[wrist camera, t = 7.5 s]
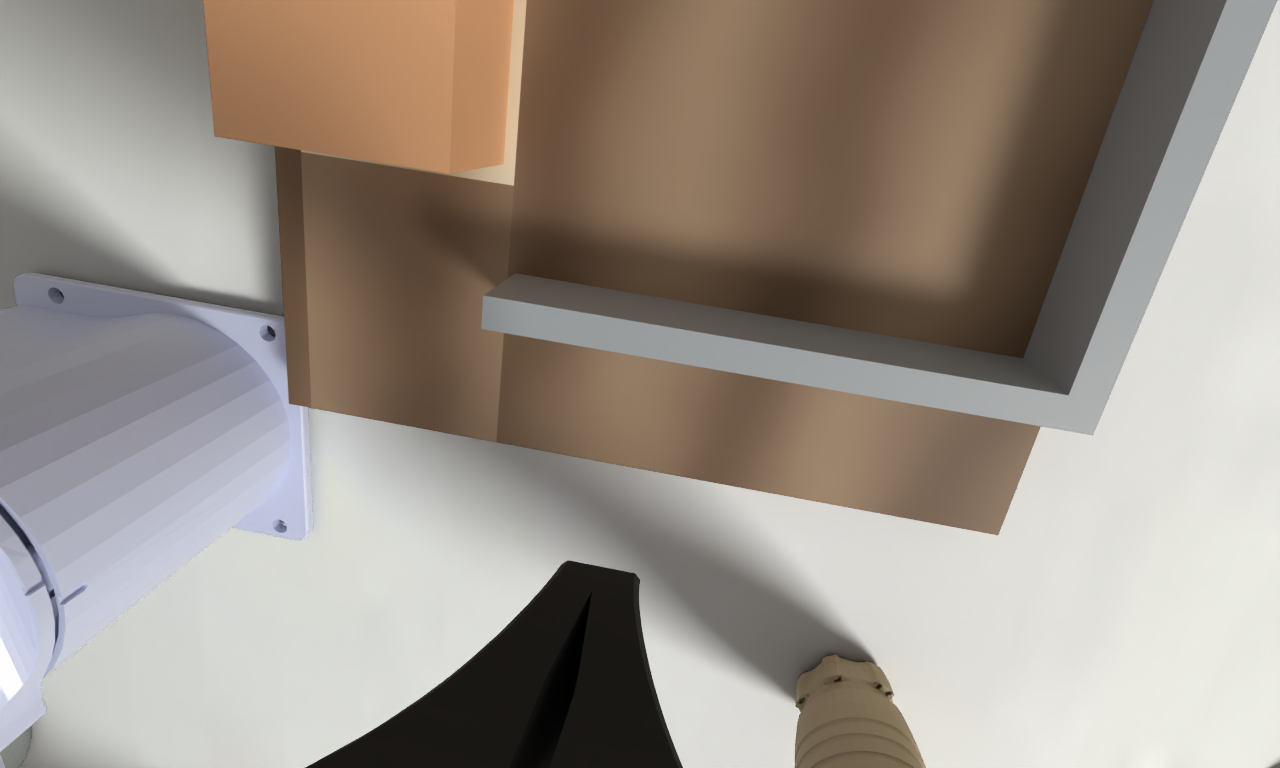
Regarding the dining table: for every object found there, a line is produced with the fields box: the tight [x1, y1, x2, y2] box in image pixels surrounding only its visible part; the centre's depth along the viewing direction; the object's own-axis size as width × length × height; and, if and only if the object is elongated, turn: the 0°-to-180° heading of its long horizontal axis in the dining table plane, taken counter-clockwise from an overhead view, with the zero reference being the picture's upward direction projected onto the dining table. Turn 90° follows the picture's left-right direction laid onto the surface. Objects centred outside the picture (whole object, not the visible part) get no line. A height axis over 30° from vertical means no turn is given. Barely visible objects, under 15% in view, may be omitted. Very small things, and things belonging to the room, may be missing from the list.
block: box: [203, 0, 514, 174], centre depth 15 cm, size 5×5×4 cm
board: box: [275, 0, 1154, 535], centre depth 17 cm, size 20×20×2 cm
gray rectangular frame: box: [481, 0, 1277, 435], centre depth 15 cm, size 14×12×2 cm
